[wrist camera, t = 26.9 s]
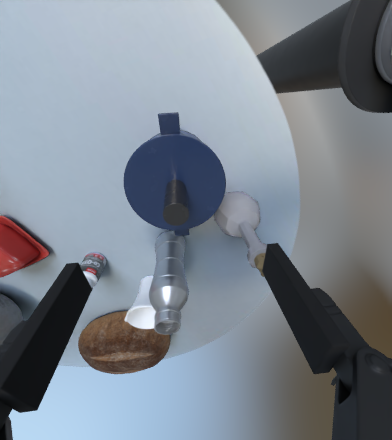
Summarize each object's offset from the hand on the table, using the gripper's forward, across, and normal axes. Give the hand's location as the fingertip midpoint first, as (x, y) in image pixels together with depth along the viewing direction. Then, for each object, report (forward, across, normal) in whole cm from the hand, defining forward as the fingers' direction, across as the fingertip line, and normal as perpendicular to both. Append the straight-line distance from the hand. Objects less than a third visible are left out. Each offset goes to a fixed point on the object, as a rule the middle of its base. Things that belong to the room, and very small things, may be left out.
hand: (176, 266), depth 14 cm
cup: (+25, -10, -30) cm, 40 cm away
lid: (+15, 0, 0) cm, 15 cm away
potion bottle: (+25, +11, -9) cm, 29 cm away
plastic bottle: (+25, -3, -16) cm, 30 cm away
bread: (+25, -21, -52) cm, 61 cm away
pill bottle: (+25, -21, -20) cm, 38 cm away
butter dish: (+25, -36, -13) cm, 46 cm away
